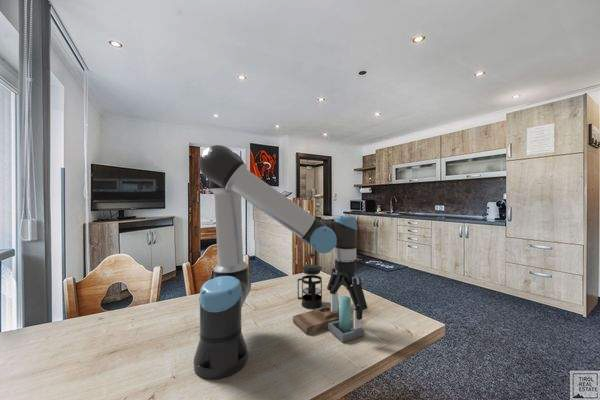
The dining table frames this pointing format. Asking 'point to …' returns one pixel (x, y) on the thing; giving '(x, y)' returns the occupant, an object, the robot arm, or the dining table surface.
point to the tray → (347, 336)
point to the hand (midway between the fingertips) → (345, 318)
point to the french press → (311, 286)
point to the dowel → (344, 314)
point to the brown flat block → (315, 319)
